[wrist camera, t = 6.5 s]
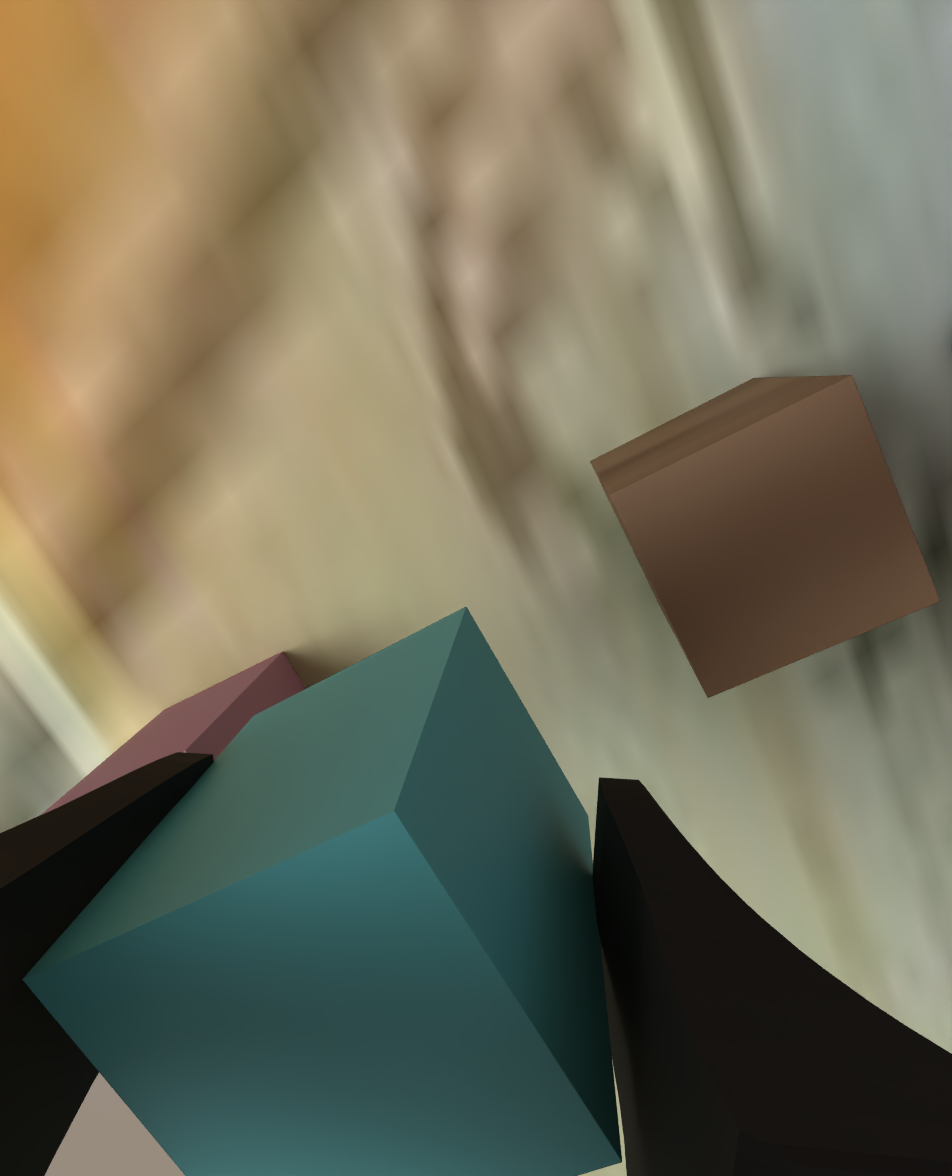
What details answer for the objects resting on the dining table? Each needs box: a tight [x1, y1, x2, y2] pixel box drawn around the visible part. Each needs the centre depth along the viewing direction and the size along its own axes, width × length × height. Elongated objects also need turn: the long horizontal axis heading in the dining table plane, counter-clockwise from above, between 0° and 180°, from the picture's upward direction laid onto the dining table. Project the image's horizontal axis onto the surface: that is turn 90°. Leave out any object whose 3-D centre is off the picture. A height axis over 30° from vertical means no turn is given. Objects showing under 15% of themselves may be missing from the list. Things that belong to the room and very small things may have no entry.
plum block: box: [43, 652, 306, 814], centre depth 19 cm, size 4×4×6 cm
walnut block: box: [590, 375, 940, 698], centre depth 16 cm, size 4×4×6 cm
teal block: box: [22, 607, 622, 1176], centre depth 10 cm, size 4×4×6 cm
